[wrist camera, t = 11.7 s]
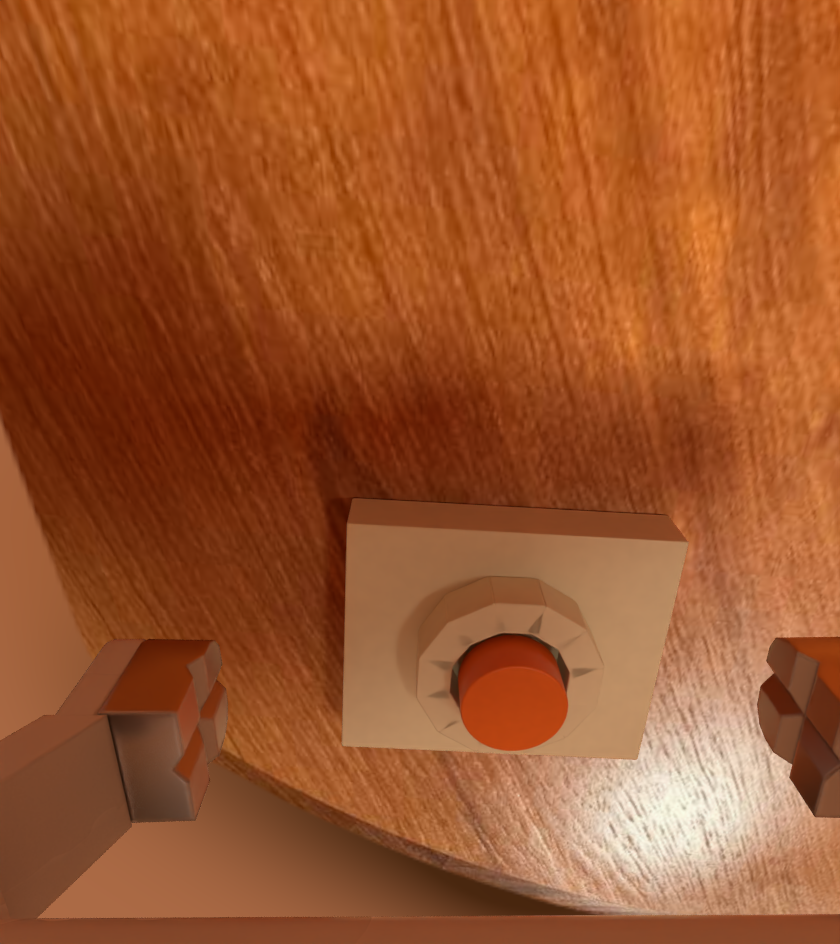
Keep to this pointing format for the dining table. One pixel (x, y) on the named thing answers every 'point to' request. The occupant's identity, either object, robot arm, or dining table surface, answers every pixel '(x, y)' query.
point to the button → (511, 693)
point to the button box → (503, 617)
